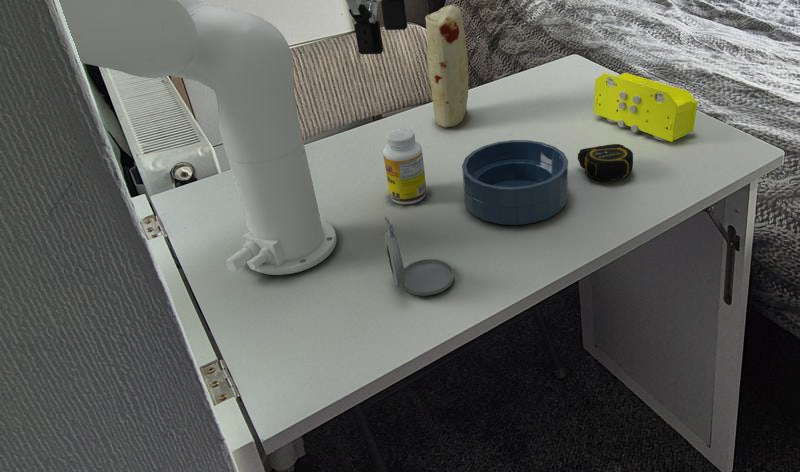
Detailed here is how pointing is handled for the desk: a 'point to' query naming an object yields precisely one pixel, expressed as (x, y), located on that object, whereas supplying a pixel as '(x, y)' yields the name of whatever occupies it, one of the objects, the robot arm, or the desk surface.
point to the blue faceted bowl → (515, 182)
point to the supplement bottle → (404, 167)
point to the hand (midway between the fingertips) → (384, 40)
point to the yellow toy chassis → (645, 105)
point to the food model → (447, 65)
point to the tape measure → (606, 161)
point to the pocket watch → (417, 270)
